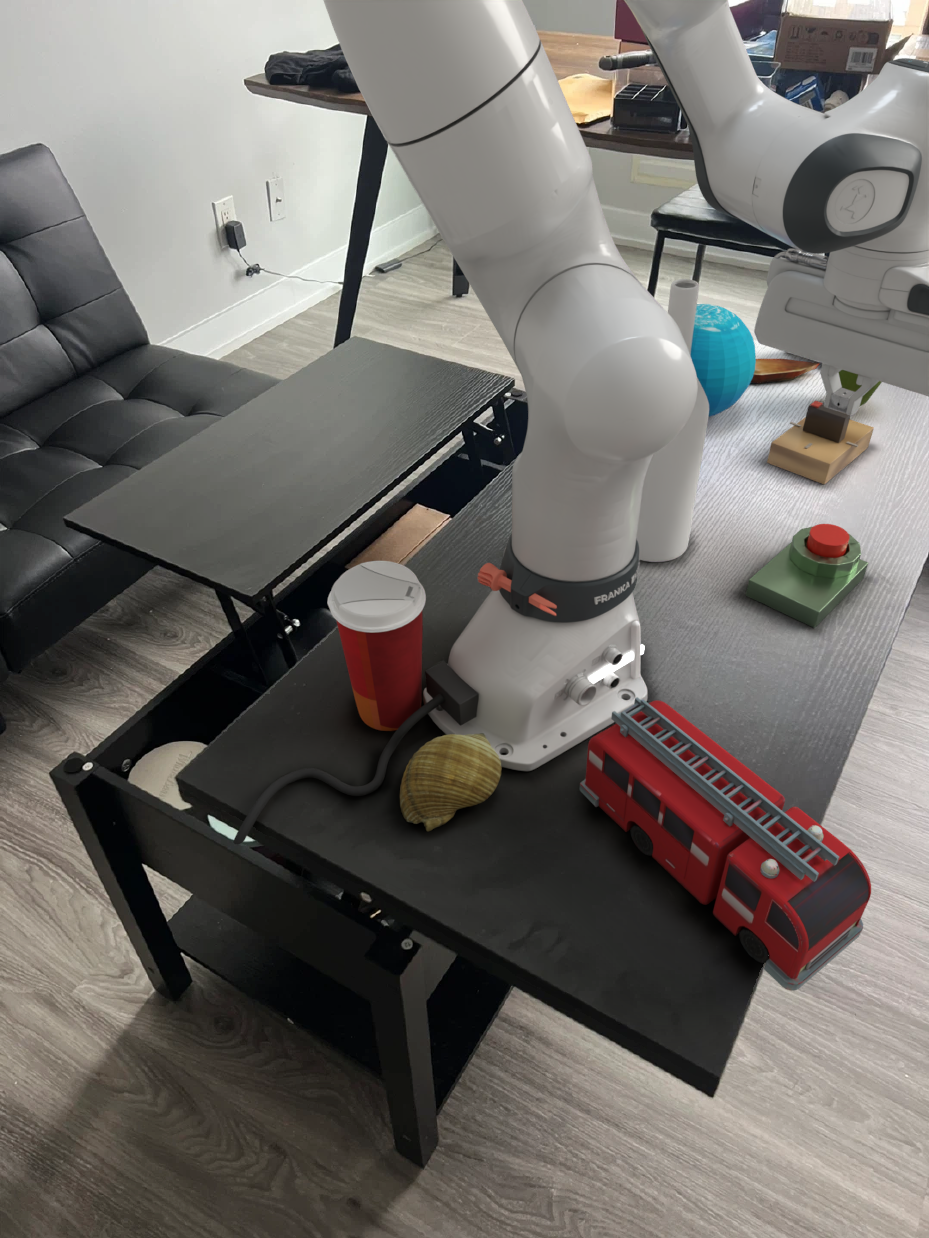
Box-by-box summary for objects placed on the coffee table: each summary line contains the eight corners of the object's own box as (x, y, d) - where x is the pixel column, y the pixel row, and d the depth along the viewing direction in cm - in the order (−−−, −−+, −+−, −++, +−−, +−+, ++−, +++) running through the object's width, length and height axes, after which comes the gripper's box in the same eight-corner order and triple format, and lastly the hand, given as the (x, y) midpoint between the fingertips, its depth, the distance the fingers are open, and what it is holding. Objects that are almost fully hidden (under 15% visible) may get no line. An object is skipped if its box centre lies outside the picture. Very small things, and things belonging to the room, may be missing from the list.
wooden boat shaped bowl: (814, 369, 137) (817, 357, 136) (823, 385, 133) (826, 374, 132) (718, 369, 138) (720, 358, 137) (724, 386, 134) (726, 375, 133)
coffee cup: (441, 682, 89) (435, 562, 79) (421, 746, 83) (411, 625, 73) (359, 671, 90) (342, 551, 80) (333, 733, 84) (311, 612, 74)
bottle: (650, 571, 101) (684, 307, 81) (602, 537, 106) (624, 281, 86) (703, 546, 104) (747, 286, 85) (654, 514, 109) (686, 262, 90)
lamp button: (834, 563, 95) (838, 550, 94) (799, 548, 97) (802, 535, 96) (852, 546, 97) (856, 533, 96) (817, 532, 99) (821, 519, 98)
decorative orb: (616, 417, 128) (626, 313, 118) (671, 378, 136) (683, 278, 126) (713, 450, 120) (731, 342, 110) (764, 406, 129) (785, 302, 119)
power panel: (829, 486, 113) (835, 464, 111) (762, 461, 118) (767, 439, 116) (872, 449, 119) (879, 427, 117) (807, 426, 124) (812, 405, 122)
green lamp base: (814, 628, 93) (823, 598, 90) (745, 595, 97) (751, 565, 95) (867, 574, 99) (877, 545, 97) (800, 545, 104) (807, 517, 101)
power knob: (844, 438, 115) (851, 411, 113) (838, 443, 115) (845, 416, 112) (808, 425, 118) (814, 399, 116) (802, 430, 117) (808, 404, 115)
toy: (788, 1003, 63) (819, 925, 57) (576, 798, 78) (581, 717, 71) (861, 938, 67) (898, 858, 60) (645, 754, 81) (656, 673, 75)
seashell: (432, 856, 78) (477, 847, 72) (369, 809, 77) (408, 795, 70) (482, 765, 83) (528, 749, 77) (423, 719, 82) (465, 699, 75)
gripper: (757, 252, 85) (732, 388, 94) (979, 308, 74) (927, 456, 83) (790, 235, 89) (763, 368, 98) (1008, 287, 78) (955, 431, 87)
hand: (840, 409), depth 90 cm, fingers closed
